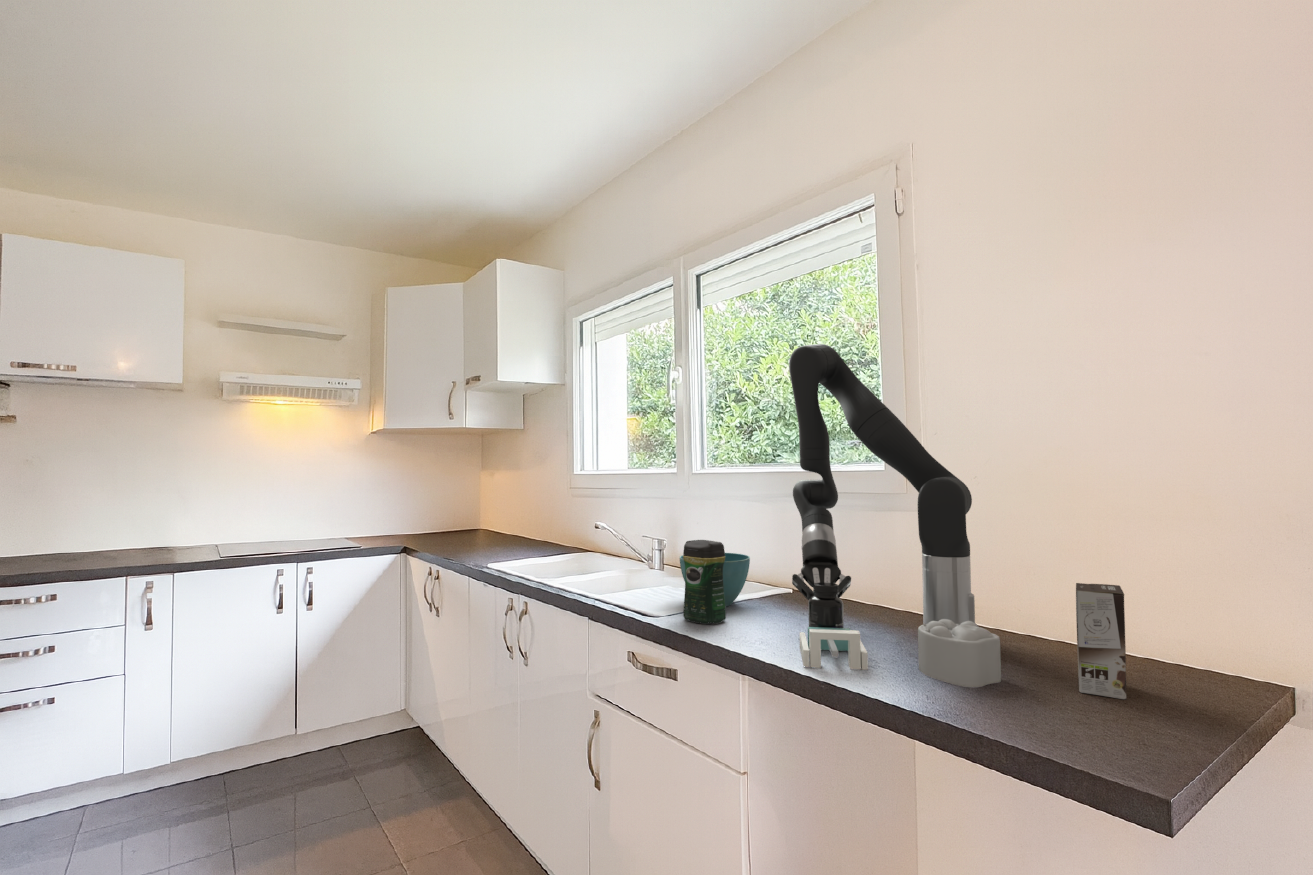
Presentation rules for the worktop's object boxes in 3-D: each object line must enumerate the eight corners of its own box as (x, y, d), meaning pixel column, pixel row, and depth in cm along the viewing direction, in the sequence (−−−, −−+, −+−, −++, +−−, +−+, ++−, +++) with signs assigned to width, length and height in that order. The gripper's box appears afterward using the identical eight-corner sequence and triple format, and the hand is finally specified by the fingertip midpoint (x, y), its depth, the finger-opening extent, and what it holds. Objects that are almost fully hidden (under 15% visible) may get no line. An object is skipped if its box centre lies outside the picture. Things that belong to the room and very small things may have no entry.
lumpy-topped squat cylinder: (968, 690, 107) (967, 635, 108) (903, 668, 119) (902, 619, 119) (1009, 680, 112) (1008, 627, 113) (943, 660, 124) (942, 612, 124)
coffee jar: (731, 621, 155) (731, 540, 156) (708, 627, 149) (708, 543, 150) (700, 614, 162) (700, 537, 163) (677, 619, 156) (677, 539, 157)
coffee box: (1128, 700, 102) (1124, 593, 103) (1078, 693, 105) (1075, 589, 106) (1124, 684, 110) (1121, 584, 110) (1078, 677, 113) (1075, 580, 114)
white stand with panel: (857, 649, 130) (857, 617, 131) (867, 669, 118) (867, 634, 118) (799, 647, 132) (799, 615, 132) (803, 667, 119) (803, 631, 120)
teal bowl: (705, 614, 162) (705, 563, 162) (666, 601, 178) (666, 554, 178) (764, 606, 171) (764, 558, 171) (722, 594, 187) (722, 550, 187)
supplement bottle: (845, 649, 130) (844, 587, 131) (809, 648, 132) (808, 586, 132) (842, 640, 137) (841, 581, 138) (808, 639, 138) (807, 580, 139)
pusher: (850, 649, 130) (849, 628, 130) (858, 667, 118) (858, 644, 118) (807, 647, 131) (807, 626, 131) (812, 665, 119) (812, 642, 119)
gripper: (789, 537, 150) (791, 604, 137) (850, 538, 147) (858, 606, 135) (788, 558, 155) (790, 624, 142) (848, 559, 153) (855, 627, 140)
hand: (823, 615), depth 139 cm, fingers closed
